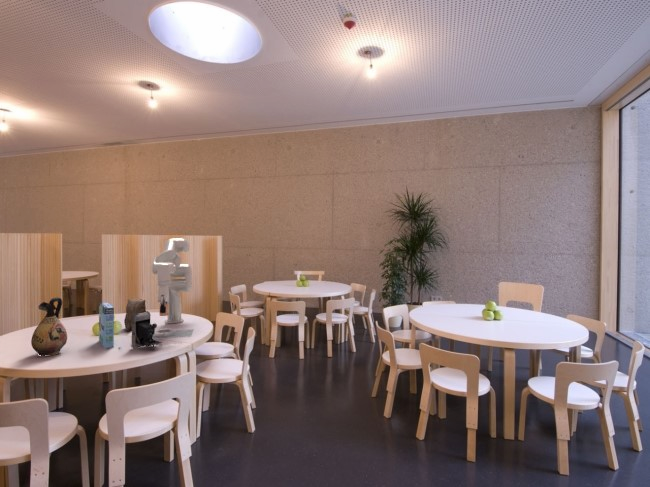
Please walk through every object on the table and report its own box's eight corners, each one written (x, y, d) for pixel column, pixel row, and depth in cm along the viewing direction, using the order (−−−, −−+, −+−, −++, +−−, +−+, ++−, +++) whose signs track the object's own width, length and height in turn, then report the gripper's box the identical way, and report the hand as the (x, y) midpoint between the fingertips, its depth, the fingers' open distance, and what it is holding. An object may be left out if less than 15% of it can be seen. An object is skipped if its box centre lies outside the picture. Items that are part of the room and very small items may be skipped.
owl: (124, 328, 251) (123, 299, 250) (144, 325, 258) (144, 297, 257) (126, 332, 240) (126, 301, 240) (147, 329, 248) (147, 300, 247)
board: (155, 333, 237) (155, 331, 237) (194, 331, 243) (194, 329, 243) (148, 341, 220) (148, 338, 219) (191, 338, 225) (191, 336, 225)
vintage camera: (146, 353, 198) (147, 317, 198) (130, 348, 206) (131, 313, 206) (162, 349, 206) (163, 314, 206) (146, 344, 214) (147, 310, 214)
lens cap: (160, 314, 232) (160, 303, 232) (169, 313, 233) (169, 302, 233) (158, 316, 226) (158, 305, 225) (167, 315, 227) (167, 304, 227)
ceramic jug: (49, 359, 187) (48, 301, 186) (23, 357, 190) (23, 300, 189) (77, 349, 204) (76, 296, 203) (53, 347, 206) (52, 295, 206)
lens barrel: (155, 332, 235) (155, 329, 235) (176, 331, 238) (176, 328, 238) (150, 337, 222) (150, 334, 222) (173, 336, 225) (173, 333, 225)
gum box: (98, 341, 220) (98, 303, 219) (108, 339, 223) (108, 302, 223) (104, 348, 205) (103, 308, 204) (114, 347, 208) (114, 307, 208)
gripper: (160, 281, 237) (160, 309, 237) (154, 285, 220) (154, 314, 220) (172, 281, 239) (172, 308, 239) (167, 285, 222) (168, 314, 222)
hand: (164, 311), depth 229 cm, fingers closed on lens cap, 6 cm apart
